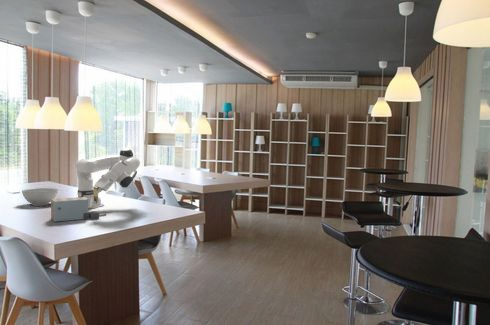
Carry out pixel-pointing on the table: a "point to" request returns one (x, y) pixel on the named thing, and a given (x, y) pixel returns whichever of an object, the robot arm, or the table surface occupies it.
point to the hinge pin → (95, 194)
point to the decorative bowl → (39, 195)
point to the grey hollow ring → (91, 215)
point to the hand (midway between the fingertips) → (94, 193)
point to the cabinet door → (70, 209)
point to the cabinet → (61, 200)
